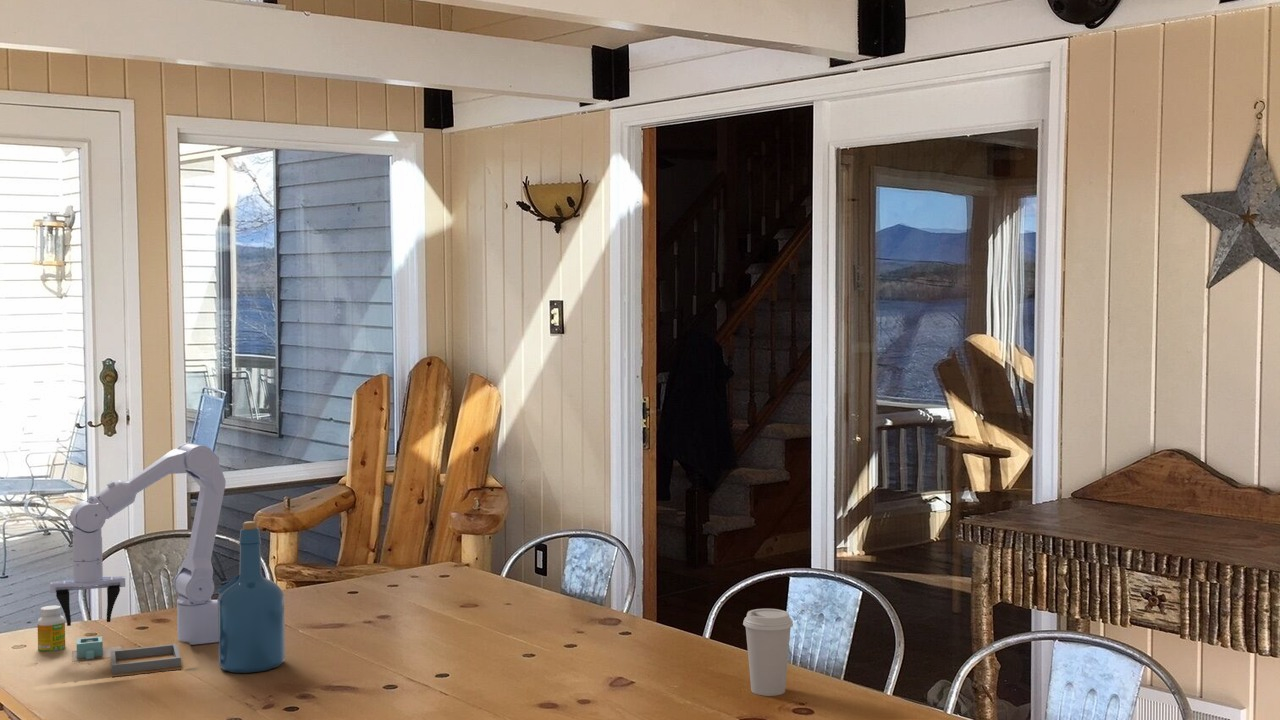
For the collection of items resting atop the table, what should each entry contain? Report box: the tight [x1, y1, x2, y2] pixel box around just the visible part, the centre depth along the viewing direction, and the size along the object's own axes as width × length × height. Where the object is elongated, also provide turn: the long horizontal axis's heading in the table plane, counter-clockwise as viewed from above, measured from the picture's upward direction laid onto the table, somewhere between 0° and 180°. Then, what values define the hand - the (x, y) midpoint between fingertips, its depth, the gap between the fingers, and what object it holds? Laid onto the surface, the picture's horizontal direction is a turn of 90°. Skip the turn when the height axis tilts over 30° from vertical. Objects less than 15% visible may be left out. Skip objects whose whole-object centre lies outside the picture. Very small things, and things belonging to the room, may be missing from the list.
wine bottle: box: [217, 520, 286, 674], centre depth 257 cm, size 14×13×30 cm
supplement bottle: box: [36, 605, 66, 653], centre depth 269 cm, size 5×5×10 cm
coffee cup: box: [742, 608, 794, 697], centre depth 238 cm, size 10×10×15 cm
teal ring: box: [76, 635, 104, 660], centre depth 263 cm, size 5×7×3 cm
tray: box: [110, 643, 182, 678], centre depth 258 cm, size 13×12×2 cm
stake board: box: [71, 640, 124, 663], centre depth 265 cm, size 10×9×4 cm
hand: (88, 623), depth 264 cm, fingers open, 7 cm apart
